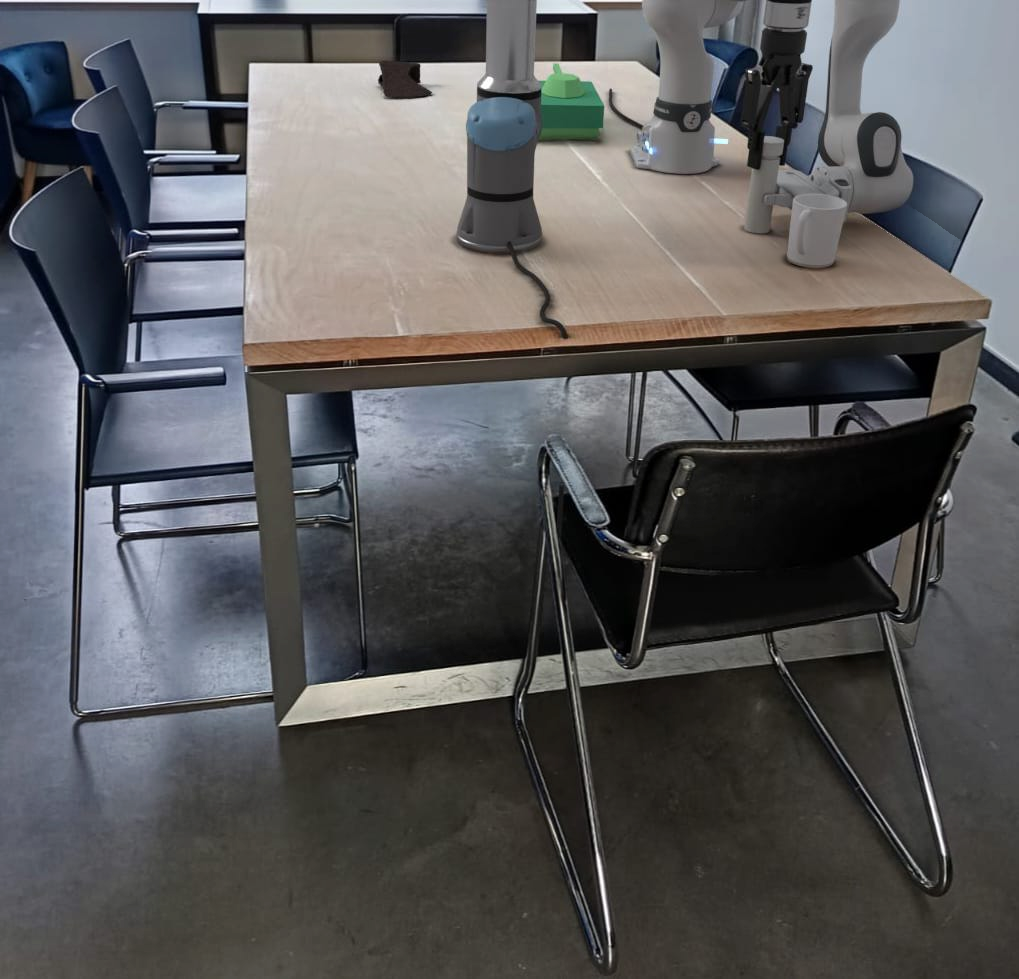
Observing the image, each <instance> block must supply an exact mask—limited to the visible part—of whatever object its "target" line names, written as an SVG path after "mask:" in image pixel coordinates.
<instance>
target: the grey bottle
mask: <svg viewBox="0 0 1019 979" xmlns="http://www.w3.org/2000/svg"><path fill="white" fill-rule="evenodd" d="M779 163H780V157H779V156H774V157H768V156H762V158H761V165H760V169H759V170H756V169H753V168H751V176H750V181H749V187H750V188H749V187H748V196H747V205H746V210H745V218H744V227H743V230H745V231H746V232H749V233H753V234H767V233H769V232H770V230H771V223H772V217H773V211H774V205H765V204H764V203H763V202H762V199H763V194H765V193H773V194H775V190H776V183H777V176H778V170H779V169H780V165H779Z"/></svg>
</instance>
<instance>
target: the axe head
mask: <svg viewBox="0 0 1019 979" xmlns="http://www.w3.org/2000/svg"><path fill="white" fill-rule="evenodd" d="M378 66H379V68H380V72H381V74H379V75H378V79H377V84H378V85H379V86H380V87H381V88H382V89H383V95H384V96H385V97H388V98H394V99H395V98H396V99H403V98H405V99H406V98H407V99H411V98H418V97H425V96H429V95H432V94H433V91H431V90H430V89H428V88H427V87H425V86H422V85H421V84H422V82H421V63H419V62H410V61H408V62H407V61H397V60H388V59H387V60H380V61H379V62H378Z"/></svg>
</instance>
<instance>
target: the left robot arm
mask: <svg viewBox="0 0 1019 979" xmlns="http://www.w3.org/2000/svg"><path fill="white" fill-rule="evenodd" d="M732 1H738V2H742V1H744V2H746V1H747V0H732ZM812 2H813V0H765V5H764V6H765V7H764V12H763V14H764V15H763V22H762V24H763V25H764V26H765V27H764V28H763V29H762V30H761V37H760V45H759V49H760V52H761V58H760V60H759V62H758V65H757V66H754V67H753V68H750V67H747V68H746V69H745V70H744V76H745V88H744V96H743V101H742V102H743V103H742V109H741V117H740V122H739V123H740V127H742V128H745V129H747V130H748V136H747V145H746V147H747V150H748V154H747V161H746V162H747V163H746V167H749V168H751V169H752V168H753V169H756V170H759V169H760V165H761V158H762V151H763V144H764V137H765V136H766V131H763V127H764V124H765V121H766V118H767V114H768V112H769V109H770V106H771V103H772V100H773V97H774V94H775V93H777V91H778V97H779V99H778V100H779V114H780V115H779V116H780V125H776V127H775V128H776V129H775V136H774V137H778V138H781V139H783V140H784V146H783V152H782V155H780V156H779V157H780V163H779V167H784V166H786V160H787V154H788V147H789V146H790V144H791V140H792V135H793V134H792V132H793V129H797V128H798V127H799V124H802V123H803V121H804V116H805V110H806V109H805V108H806V102H807V94H808V87H809V80H810V77H811V75H812V72H813V69H814V67H813V65H812V64H809V63H805V62H802V58H801V57H802V54H804V53H805V51H806V50H805V49H806V44H807V37H808V32H807V30H806V28H808V26H809V22H810V16H811V10H812ZM537 4H538V0H486V33H485V34H486V36H485V38H486V40H485V41H486V42H485V73H484V75H483V76H482V78H480V79H479V80H478V82H477V83H476V102H475V103H473V104H472V105H471V106H470V107H469V109H468V111H467V117H466V118H467V119H466V122H465V131H466V192H467V193H466V198H465V202H464V205H463V209H462V211H461V214H460V218H459V220H458V224H457V228H456V241H457V243H458V244H459V245H461V246H462V247H464V248H466V249H468V250H470V251H475V252H479V253H486V254H497V255H499V254H500V255H506V254H507V255H508V254H510V256H511V258H512V261H513V263H514V265H515V266H516V268H517V270H519V271H520V272H521V273H523V274H524V275H526V276H527V277H529V278H531V280H532V281H534V282H535V283H536V285H538V287H539V288H540V290H541V291H542V293H543V295H544V302H543V303H542V306H541V307H540V309H539V317H540V320H541V321H542V322H543V323H546V324H549V325H552V326H555V327H557V329H558V330H559V331H560V333H561V337H562V339H563V340H568V339H569V335H568V333H567V330H566V328H565V327H564V325H563V324H562V323H561V322H560V321H558V320H556V319H555V318H551V317H547V316H546V311H547V308H548V307H549V305H550V303H551V295H550V292H549V289H548V288H547V286H546V285H545V283H543V281H542V280H541V279H540V278H539V277H538V276H537V275H536V274H535V273H534V272H532V271H530V270H529V269H527V268H526V267H525V266H523V265H522V264H521V262H520V261H519V259H518V255H517V253H524V252H527V251H530V250H533V249H536V248H538V247H539V246H540V245H541V244H542V243H543V229H542V224H541V221H540V220H541V219H540V218H539V214H538V213H539V212H538V210H537V206H536V204H535V199H534V183H535V181H534V180H535V158H536V156H535V155H536V149H537V145H538V143H539V140H540V139H539V138H540V135H541V131H542V116H541V94H542V85H541V83H540V82H539V81H540V80H538V78H536V76H535V55H536V30H537V6H538V5H537ZM564 493H565V485H561V484H560V485H558V499H557V515H556V516H557V517H556V518H557V519H556V529H557V528H558V533H559V536H560V537H561V538H562V527H563V512H564V496H565V495H564Z"/></svg>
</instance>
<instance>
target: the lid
mask: <svg viewBox="0 0 1019 979" xmlns="http://www.w3.org/2000/svg"><path fill="white" fill-rule="evenodd" d="M783 146H784V140H783V139H781V138H778V137H775V136H771V135H765V137H764V144H763V151H762V156H768V157H774V156H780V155H782V152H783Z"/></svg>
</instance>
